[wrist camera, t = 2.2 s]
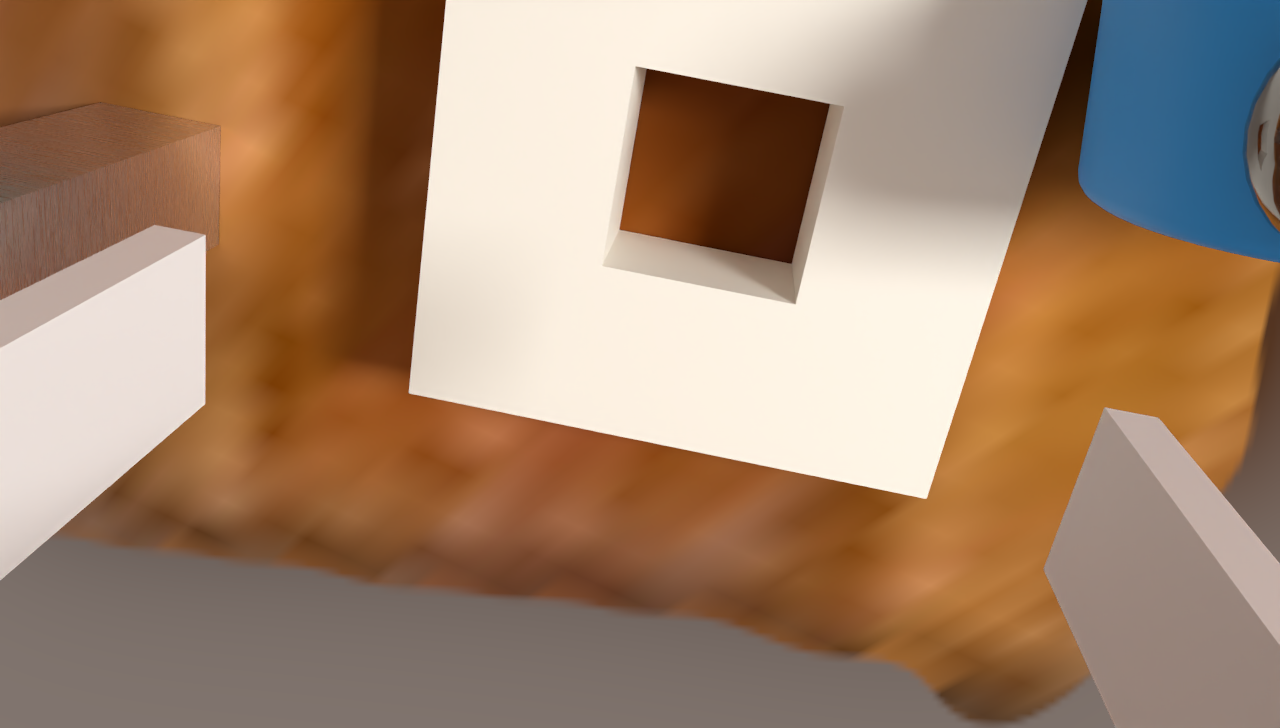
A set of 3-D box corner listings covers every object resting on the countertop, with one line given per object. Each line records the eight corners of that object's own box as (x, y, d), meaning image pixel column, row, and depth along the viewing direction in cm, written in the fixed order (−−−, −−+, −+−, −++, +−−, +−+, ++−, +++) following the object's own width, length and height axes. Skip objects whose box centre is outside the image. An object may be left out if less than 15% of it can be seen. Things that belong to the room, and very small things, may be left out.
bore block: (444, 346, 36) (408, 393, 32) (500, -173, 30) (464, -189, 26) (908, 440, 35) (926, 498, 32) (1065, -68, 29) (1109, -68, 25)
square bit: (103, 221, 35) (-273, 384, 22) (100, 102, 34) (-306, 204, 21) (218, 244, 35) (-94, 422, 22) (220, 126, 34) (-114, 243, 21)
